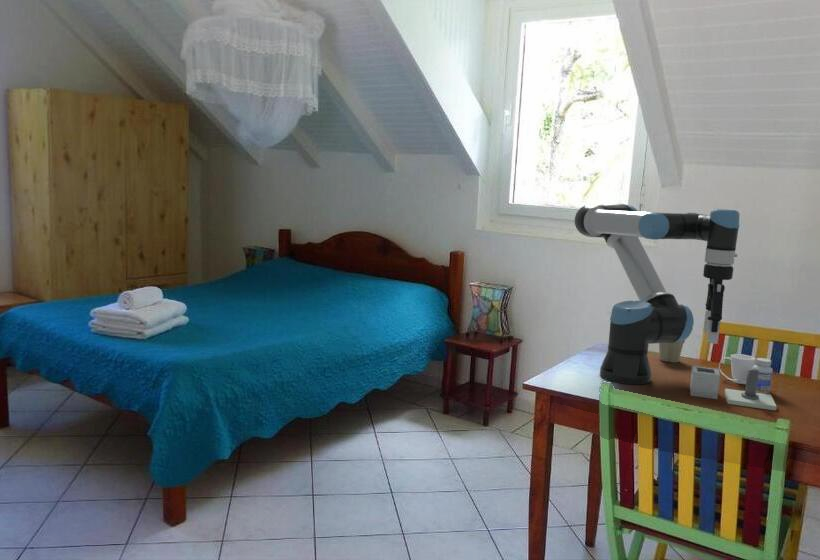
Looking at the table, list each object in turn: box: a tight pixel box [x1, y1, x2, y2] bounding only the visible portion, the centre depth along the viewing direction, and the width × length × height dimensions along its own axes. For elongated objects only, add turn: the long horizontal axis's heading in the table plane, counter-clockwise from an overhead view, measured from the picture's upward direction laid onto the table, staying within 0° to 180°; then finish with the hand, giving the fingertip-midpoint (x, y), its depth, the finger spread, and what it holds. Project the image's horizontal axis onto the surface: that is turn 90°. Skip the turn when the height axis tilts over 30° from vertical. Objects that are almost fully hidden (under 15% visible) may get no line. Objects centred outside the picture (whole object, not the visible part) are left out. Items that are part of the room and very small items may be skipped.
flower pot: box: [658, 339, 687, 364], centre depth 231 cm, size 9×9×9 cm
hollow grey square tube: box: [689, 365, 721, 400], centre depth 195 cm, size 7×7×7 cm
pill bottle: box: [752, 357, 774, 394], centre depth 200 cm, size 5×5×10 cm
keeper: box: [724, 368, 777, 411], centre depth 190 cm, size 12×11×9 cm
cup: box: [718, 353, 757, 385], centre depth 209 cm, size 7×10×8 cm
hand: (710, 337), depth 193 cm, fingers open, 13 cm apart
